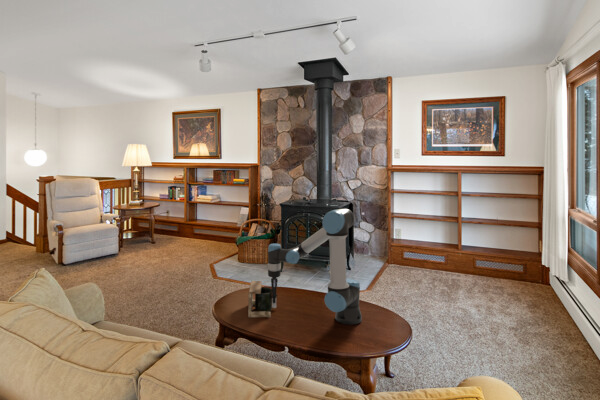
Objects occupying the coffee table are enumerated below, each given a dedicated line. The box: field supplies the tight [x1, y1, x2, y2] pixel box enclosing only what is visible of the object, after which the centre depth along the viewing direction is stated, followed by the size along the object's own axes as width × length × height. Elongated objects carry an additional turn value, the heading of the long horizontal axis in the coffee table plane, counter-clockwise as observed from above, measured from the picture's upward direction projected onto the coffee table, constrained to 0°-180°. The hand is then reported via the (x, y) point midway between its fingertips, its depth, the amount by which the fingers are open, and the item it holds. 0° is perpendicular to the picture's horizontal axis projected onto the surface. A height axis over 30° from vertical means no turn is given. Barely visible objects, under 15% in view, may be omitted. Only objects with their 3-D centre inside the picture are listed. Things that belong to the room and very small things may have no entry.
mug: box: [254, 286, 273, 312], centre depth 216 cm, size 11×15×12 cm
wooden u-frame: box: [247, 280, 272, 319], centre depth 216 cm, size 13×21×15 cm, turn 5°
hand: (274, 307), depth 217 cm, fingers closed
